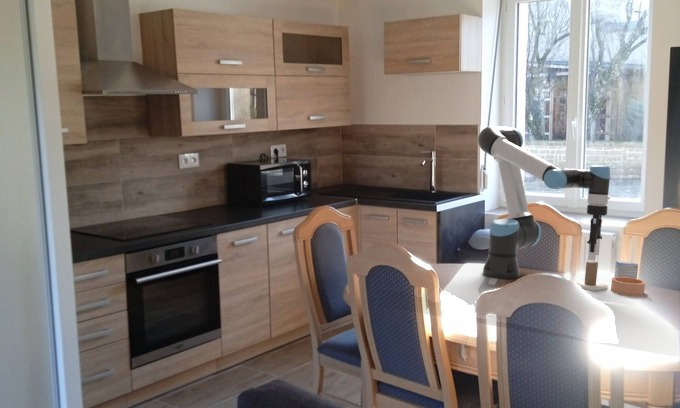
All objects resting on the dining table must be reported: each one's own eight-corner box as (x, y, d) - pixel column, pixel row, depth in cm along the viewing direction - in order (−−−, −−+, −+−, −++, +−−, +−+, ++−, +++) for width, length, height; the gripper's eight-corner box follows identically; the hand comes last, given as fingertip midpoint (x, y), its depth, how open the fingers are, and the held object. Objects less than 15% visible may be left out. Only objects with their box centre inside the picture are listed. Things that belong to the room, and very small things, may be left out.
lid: (570, 287, 276) (573, 263, 274) (575, 280, 287) (577, 257, 286) (605, 292, 270) (608, 267, 269) (608, 285, 282) (610, 261, 280)
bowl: (609, 293, 270) (610, 281, 269) (612, 287, 281) (613, 275, 280) (643, 298, 265) (644, 285, 264) (644, 291, 276) (645, 279, 275)
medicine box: (633, 282, 292) (635, 261, 291) (636, 284, 288) (638, 264, 287) (613, 280, 293) (615, 260, 292) (616, 283, 289) (618, 262, 288)
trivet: (570, 288, 276) (570, 287, 276) (575, 282, 287) (575, 280, 287) (605, 293, 270) (605, 292, 270) (608, 286, 282) (608, 285, 282)
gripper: (604, 208, 262) (600, 263, 264) (610, 202, 284) (606, 253, 286) (583, 206, 265) (579, 261, 267) (590, 201, 287) (587, 251, 290)
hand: (593, 257), depth 277 cm, fingers open, 13 cm apart
